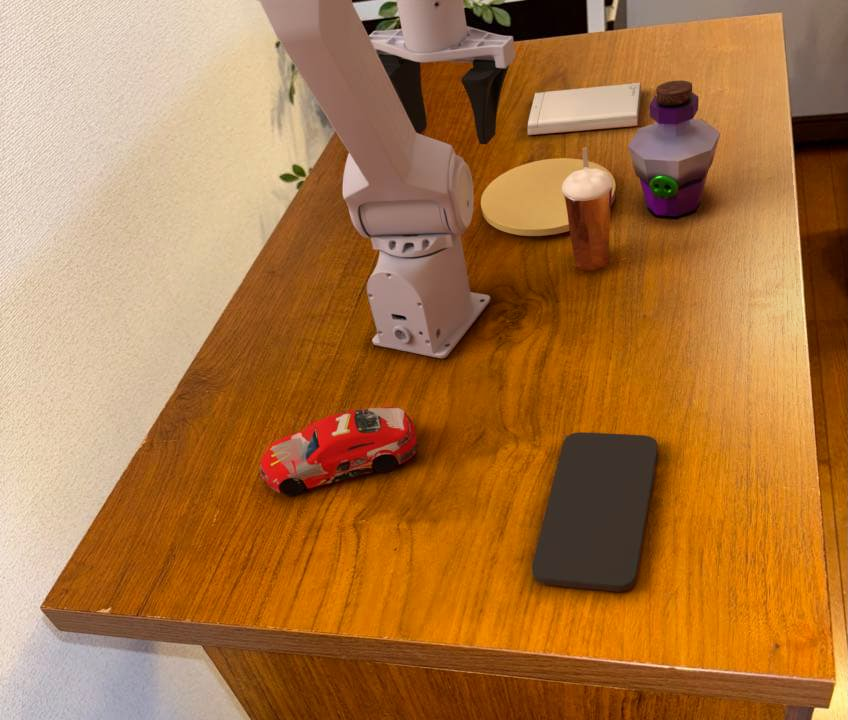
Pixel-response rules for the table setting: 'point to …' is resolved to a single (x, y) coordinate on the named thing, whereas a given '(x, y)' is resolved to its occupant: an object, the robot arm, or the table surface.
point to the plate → (532, 197)
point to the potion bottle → (673, 152)
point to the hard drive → (585, 109)
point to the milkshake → (588, 215)
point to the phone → (596, 512)
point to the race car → (339, 449)
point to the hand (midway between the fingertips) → (452, 135)
